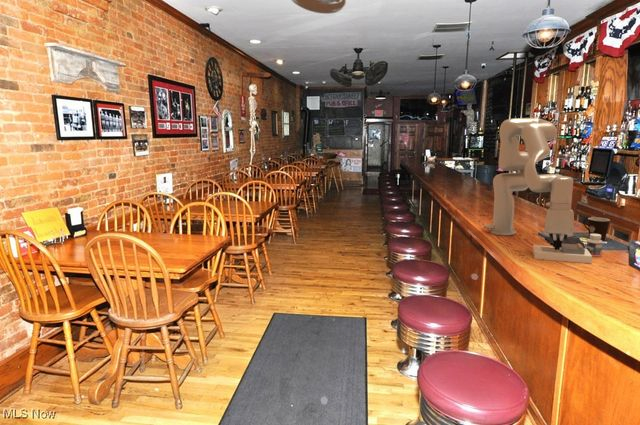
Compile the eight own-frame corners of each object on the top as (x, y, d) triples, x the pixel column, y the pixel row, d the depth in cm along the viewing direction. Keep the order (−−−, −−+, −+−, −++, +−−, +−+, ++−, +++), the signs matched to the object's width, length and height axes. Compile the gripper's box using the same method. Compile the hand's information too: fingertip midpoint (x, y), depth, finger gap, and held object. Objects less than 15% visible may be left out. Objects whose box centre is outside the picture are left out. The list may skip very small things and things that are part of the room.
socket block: (534, 258, 165) (535, 252, 164) (532, 251, 175) (533, 245, 174) (591, 263, 157) (592, 256, 156) (586, 255, 167) (586, 248, 166)
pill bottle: (583, 253, 170) (584, 233, 168) (594, 252, 170) (596, 232, 168) (592, 257, 164) (594, 236, 163) (604, 256, 165) (606, 235, 163)
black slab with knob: (552, 251, 176) (553, 241, 175) (543, 238, 196) (544, 229, 195) (592, 253, 171) (593, 243, 170) (579, 240, 191) (580, 230, 190)
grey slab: (562, 252, 162) (563, 246, 161) (560, 247, 168) (560, 241, 168) (584, 254, 159) (585, 247, 158) (580, 249, 165) (581, 242, 165)
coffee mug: (611, 242, 184) (613, 221, 182) (590, 241, 186) (592, 221, 184) (599, 235, 195) (601, 216, 193) (580, 235, 197) (582, 216, 195)
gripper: (540, 207, 162) (537, 249, 165) (583, 208, 156) (579, 253, 159) (539, 204, 168) (536, 245, 172) (580, 205, 162) (576, 247, 166)
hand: (556, 248), depth 166 cm, fingers closed
